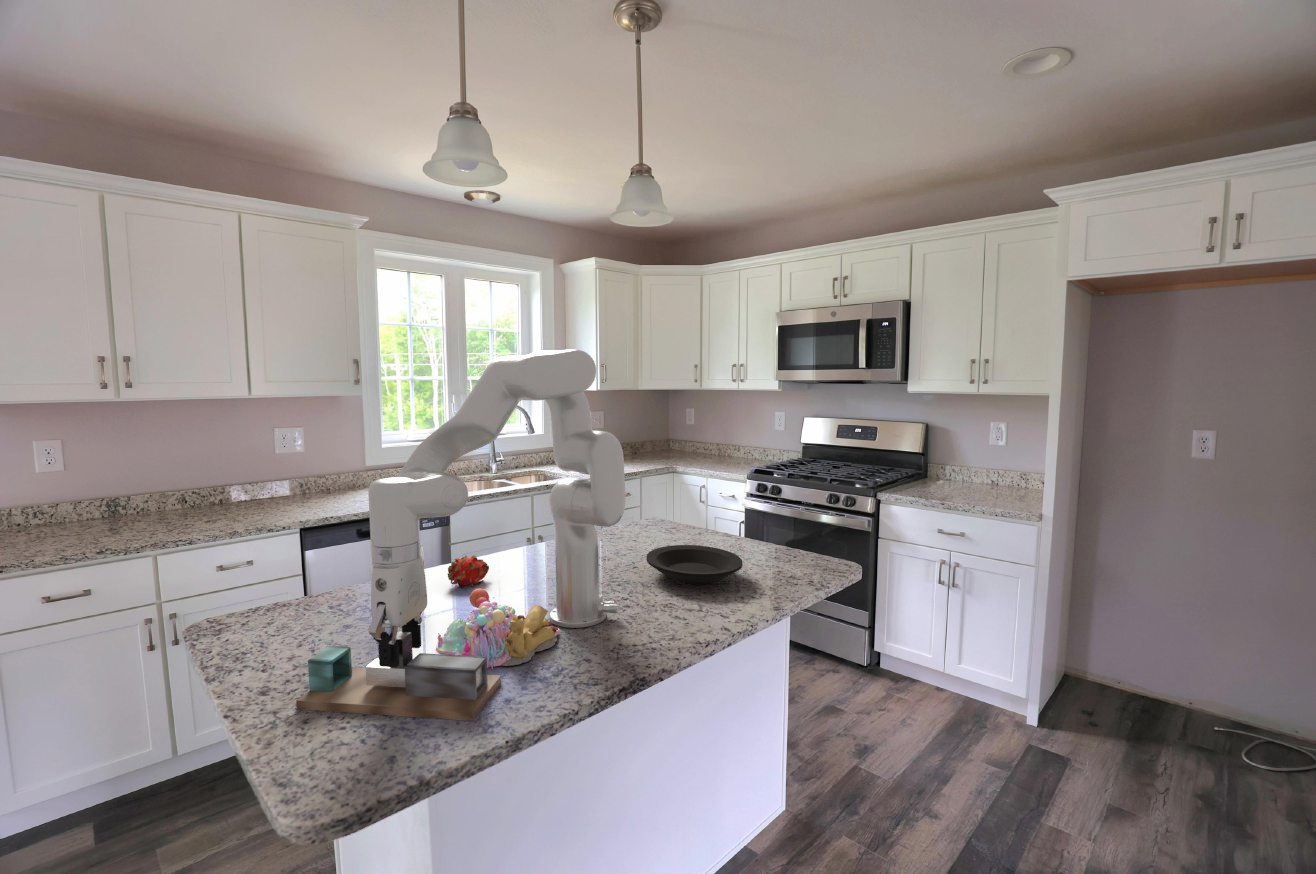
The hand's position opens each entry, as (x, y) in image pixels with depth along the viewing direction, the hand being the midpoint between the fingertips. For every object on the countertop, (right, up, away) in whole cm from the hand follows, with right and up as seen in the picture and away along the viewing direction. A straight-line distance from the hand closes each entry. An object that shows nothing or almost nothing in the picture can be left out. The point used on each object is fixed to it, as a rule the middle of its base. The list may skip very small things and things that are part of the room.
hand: (401, 655), depth 104 cm
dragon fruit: (-6, -2, +58) cm, 58 cm away
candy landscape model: (+10, -6, +22) cm, 25 cm away
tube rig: (0, -7, +1) cm, 7 cm away
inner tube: (+4, -5, 0) cm, 6 cm away
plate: (+53, -1, +61) cm, 81 cm away
